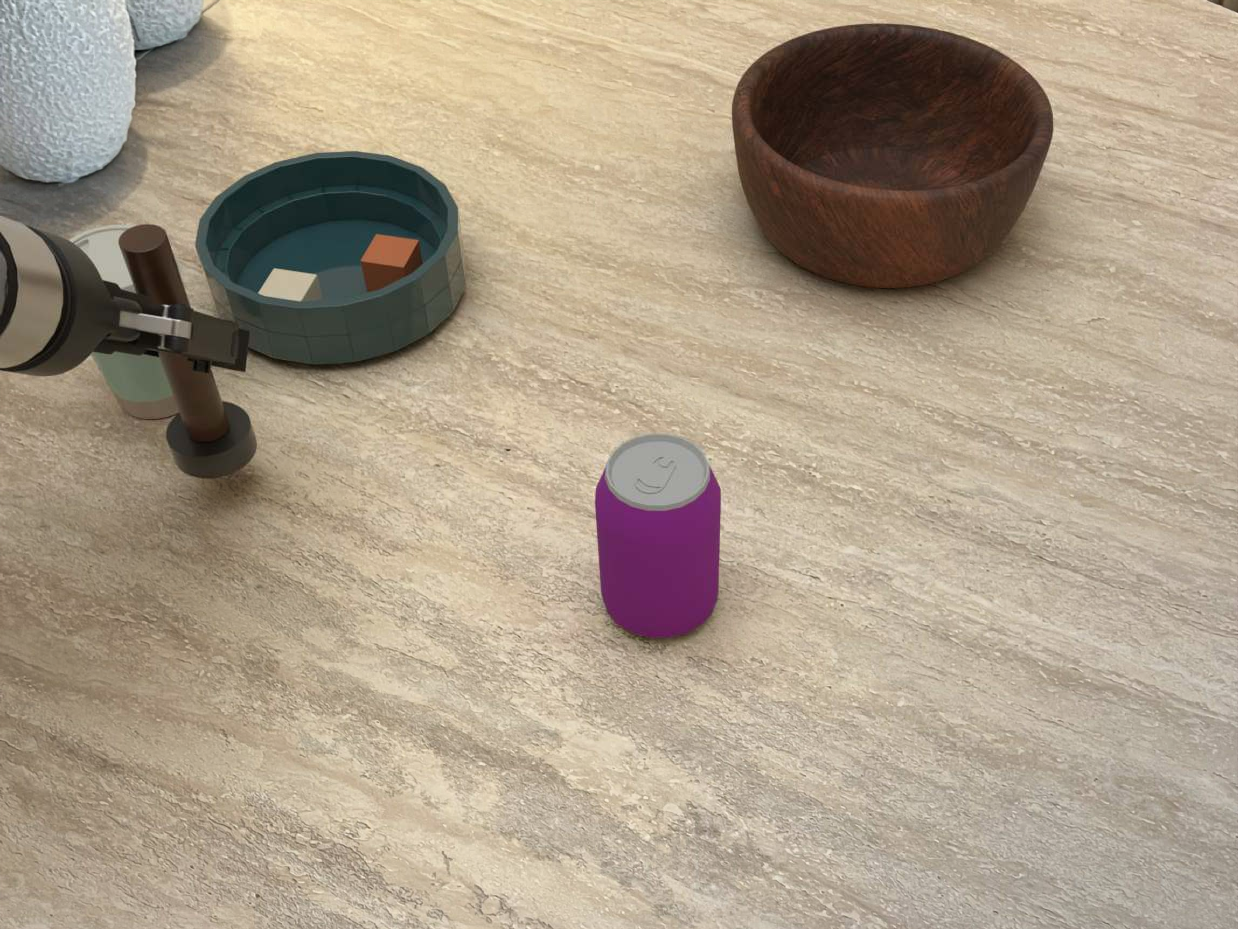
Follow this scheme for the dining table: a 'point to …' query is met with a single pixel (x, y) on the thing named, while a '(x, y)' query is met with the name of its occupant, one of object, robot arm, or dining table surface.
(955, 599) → the dining table surface
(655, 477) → the beverage can
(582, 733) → the dining table surface
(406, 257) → the terracotta block
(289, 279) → the cream block
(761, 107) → the wooden bowl
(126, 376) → the coffee cup
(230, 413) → the muddler
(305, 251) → the stir bowl
